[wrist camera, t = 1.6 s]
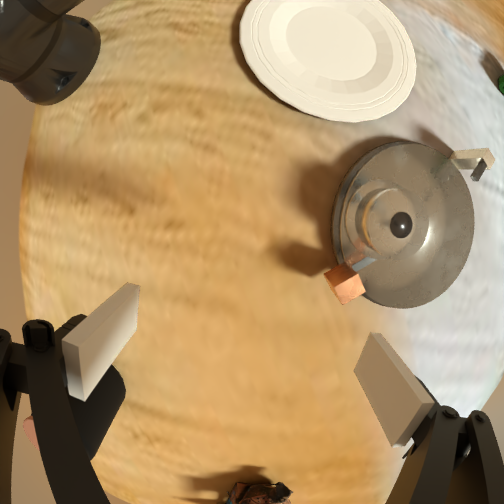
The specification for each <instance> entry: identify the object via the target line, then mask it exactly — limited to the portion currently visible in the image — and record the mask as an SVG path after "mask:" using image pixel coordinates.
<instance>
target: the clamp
mask: <svg viewBox="0 0 504 504" xmlns="http://www.w3.org/2000/svg"><path fill="white" fill-rule="evenodd" d="M498 81H499V89H500V91H501V92H502V93H503V94H504V75H503V76H501V77H499V79H498Z"/></svg>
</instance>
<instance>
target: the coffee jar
mask: <svg viewBox="0 0 504 504" xmlns="http://www.w3.org/2000/svg"><path fill="white" fill-rule="evenodd" d="M65 389H66V393H67V397H68V400H69V404H70V407H71V410H72V413H73V417H74V420H75V423H76V426H77V428H78V431H79V434H80V437H81V440H82V442H83V445H84V447H85V450H86V452H87V455H88V457H89V460H90V461H91V460H92V459H93V457H94V456H95V454H96V452H97V450H98V448H99V447H100V445H101V443H102V441H103V439H104V437H105V435H106V433H107V431H108V429H109V427H110V425H111V423H112V421H113V419H114V417H115V415H116V414H117V412H118V410H119V408H120V406H121V404H122V402H123V400H124V398H125V393H126V389H125V385H124V382H123V379H122V377H121V375H120V374H119V372H118V371H117V370H116V369H115V368H114V367H113V366H112V365H110V367H109V368H108V369H107V371H106V372H105V374H104V375H103V376H102V378H101V379H100V381H99V382H98V383H97V385H96V386H95V388H94V389H93V391H92V392H91V393H90V395H89V396H88V398H87V399H86V401H83V400H80V399H78V398H76V397H74V396H71V395H69V390H68V385H67V386H66V387H65ZM23 428H24V431H25V433H26V435H27V436H28V438H29V439H30V441H31V442H32V443H33V445H34V446H35V447H36V448H37V449H38V450H39V445H38V441H37V437H36V432H35V427H34V422H33V416H32V414H31V416H29V417H28V418H26V419H25V420H24V424H23ZM39 451H40V450H39Z"/></svg>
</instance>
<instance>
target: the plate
mask: <svg viewBox="0 0 504 504" xmlns="http://www.w3.org/2000/svg"><path fill="white" fill-rule="evenodd" d="M240 45H241V48H242V51H243V54H244V57H245V59H246V62H247V64H248V65H249V67H250V68H251V70H252V71H253V72H254V74H255V75H256V77H257V78H258V80H259V81H260V82H261V83H262V84H263V85H264V86H265V87H267V88H268V89H269V90H270V91H271V92H272V93H273V94H275V95H276V96H277V97H278V98H279V99H280V100H282V101H284V102H286V103H288V104H290V105H291V106H293V107H295V108H297V109H298V110H300V111H302V112H304V113H307V114H310V115H314V116H317V117H320V118H323V119H326V120H329V121H341V122H351V123H355V122H362V121H368V120H375V119H378V118H380V117H382V116H384V115H386V114H388V113H390V112H392V111H394V110H395V109H397V108H398V107H399V106H400V105H401V104H402V103H403V102H404V101H405V100H406V99H407V97H408V95H409V93H410V91H411V89H412V87H413V84H414V82H415V74H416V59H415V54H414V49H413V45H412V43H411V41H410V38H409V36H408V34H407V32H406V30H405V28H404V27H403V25H402V24H401V23H400V21H399V20H398V19H397V18H396V16H395V15H394V14H393V13H392V11H390V10H389V9H388V8H387V7H386V6H385V5H384V4H382V3H381V2H380V1H379V0H251V1H250V3H249V4H248V5H247V6H246V8H245V11H244V13H243V16H242V18H241V21H240Z"/></svg>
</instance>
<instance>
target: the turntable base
mask: <svg viewBox="0 0 504 504" xmlns="http://www.w3.org/2000/svg"><path fill="white" fill-rule="evenodd" d="M402 144H418V145H423V144H420V143H416V142H409V141H399V142H394V143H389V144H385V145H382V146H379V147H377V148H375V149H373V150H371V151H369V152H367V153H366V154H365V155H364V156H362V157H361V158H360V159H359V160H358V161H357V162H356V163H355V164H354V165H353V166H352V167H351V168H350V170H349V171H348V172H347V174H346V175H345V177H344V179H343V181H342V182H341V184H340V186H339V189H338V191H337V194H336V197H335V200H334V204H333V208H332V215H331V240H332V246H333V250H334V254H335V257H336V260H337V263H338V265H340V264H341V263H343V262H344V261H343V258H342V254H341V250H340V244H339V226H338V225H339V216H340V210H341V205H342V201H343V198H344V196H345V193H346V190H347V188H348V186H349V184H350V182H351V180H352V179H353V177H354V176H355V174H356V173H357V171H358V170H359V169H360V168H361V167H362V165H363V164H364V163H365V162H366V161H368V160H369V159H370V158H371V157H372V156H374V155H375V154H377V153H379V152H380V151H382V150H385V149H387V148H389V147H393V146H398V145H402ZM423 146H426V145H423ZM427 147H428V146H427ZM449 160H450V161H451V162H452V163H453V164H454V165H455V166H456V168H457V169H474V171H473V173H472V174H471V176H470V177H471V178H472V180H473V181H479V179H480V177H481V175H482V174H483V172H484V170H485V169H488V170H490V168H491V167H492V165H493V163H494V161H495V158H494V157H493V155H492V153H491V152H490V150H489V148H481V149H469V150H459V151H454V152H453V153H452V155H451V156H450V158H449ZM361 295H363V296H364V297H365V298H367V299H369V300H370V301H372V302H374V303H376V304H379V305H382V304H380V303H378V302H376V301H374V300H373V299H372V298H370V297H369V296H368V295H366V294H365V293H363V294H361ZM382 306H385V305H382ZM386 307H388V306H386Z"/></svg>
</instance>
